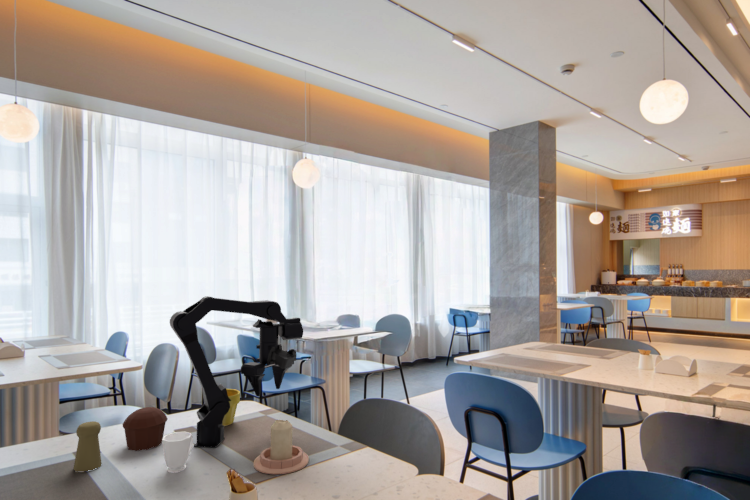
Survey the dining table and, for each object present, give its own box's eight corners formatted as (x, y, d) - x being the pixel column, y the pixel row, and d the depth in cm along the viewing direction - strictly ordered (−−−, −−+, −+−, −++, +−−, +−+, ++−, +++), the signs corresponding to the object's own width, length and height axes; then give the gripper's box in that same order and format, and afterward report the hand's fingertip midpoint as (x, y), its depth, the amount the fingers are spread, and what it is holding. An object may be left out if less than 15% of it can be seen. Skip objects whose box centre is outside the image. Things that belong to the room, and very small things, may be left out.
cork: (107, 464, 114) (108, 420, 115) (85, 474, 109) (86, 428, 109) (89, 460, 116) (91, 417, 117) (67, 470, 111) (68, 425, 111)
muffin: (142, 455, 120) (143, 417, 120) (111, 450, 123) (112, 413, 124) (175, 439, 131) (176, 405, 131) (146, 435, 135) (147, 401, 135)
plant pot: (246, 420, 148) (246, 390, 149) (225, 430, 138) (225, 398, 139) (220, 416, 152) (221, 387, 152) (198, 426, 142) (199, 395, 143)
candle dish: (245, 473, 109) (245, 463, 109) (263, 450, 123) (263, 441, 123) (302, 475, 108) (302, 465, 108) (313, 451, 122) (313, 442, 122)
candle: (294, 455, 118) (294, 417, 119) (288, 464, 113) (288, 424, 113) (274, 454, 119) (274, 416, 119) (267, 463, 113) (267, 423, 114)
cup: (154, 474, 109) (155, 440, 109) (179, 457, 119) (180, 426, 119) (180, 476, 108) (181, 442, 108) (203, 459, 117) (204, 427, 118)
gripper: (269, 348, 126) (269, 404, 126) (307, 339, 143) (307, 388, 142) (239, 345, 131) (239, 398, 131) (280, 336, 148) (279, 384, 147)
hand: (268, 392), depth 138 cm, fingers open, 9 cm apart
